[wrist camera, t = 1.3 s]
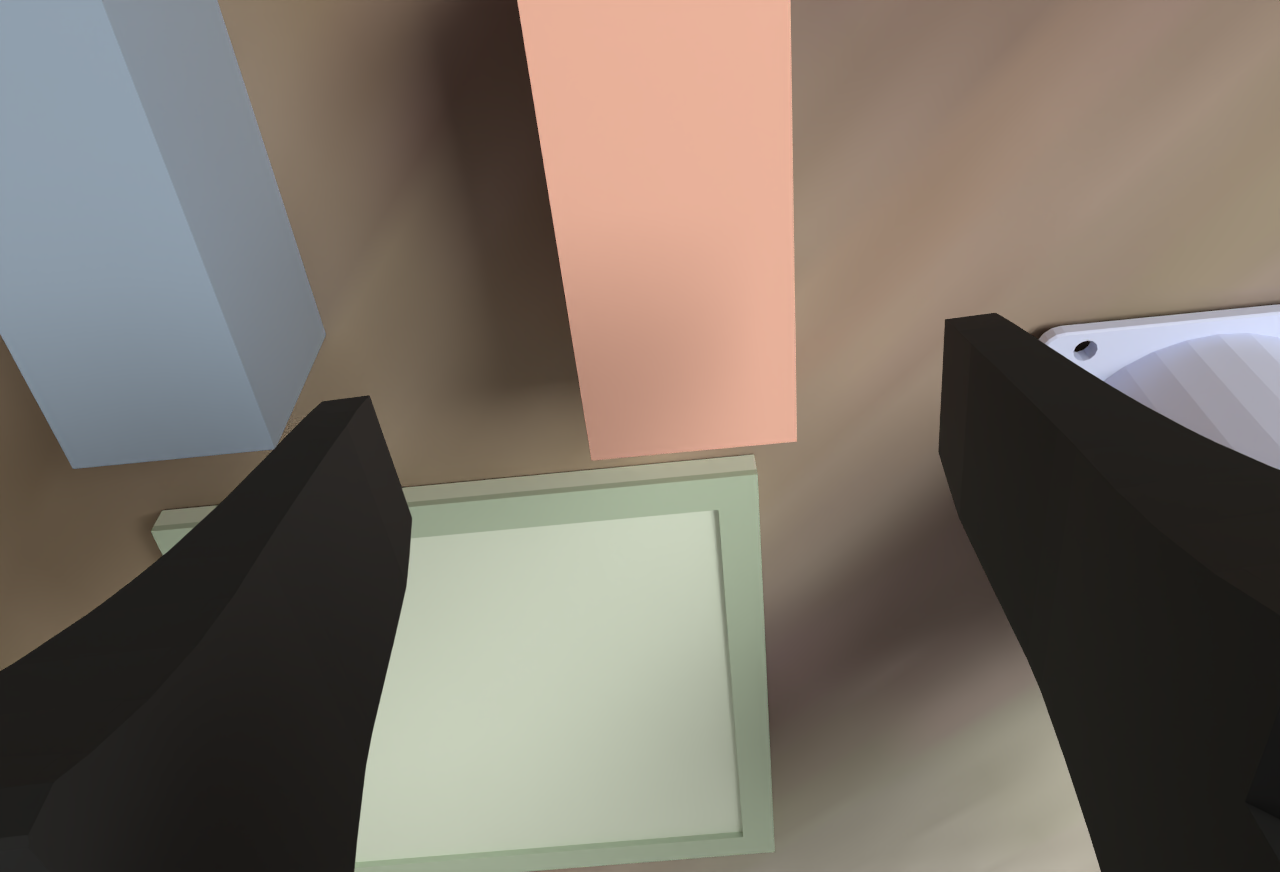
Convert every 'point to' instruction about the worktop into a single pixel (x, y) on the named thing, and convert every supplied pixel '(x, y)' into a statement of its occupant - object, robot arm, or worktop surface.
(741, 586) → the baseplate
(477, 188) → the worktop surface
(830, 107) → the worktop surface
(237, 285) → the slate brick
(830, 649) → the worktop surface
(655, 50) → the coral brick
